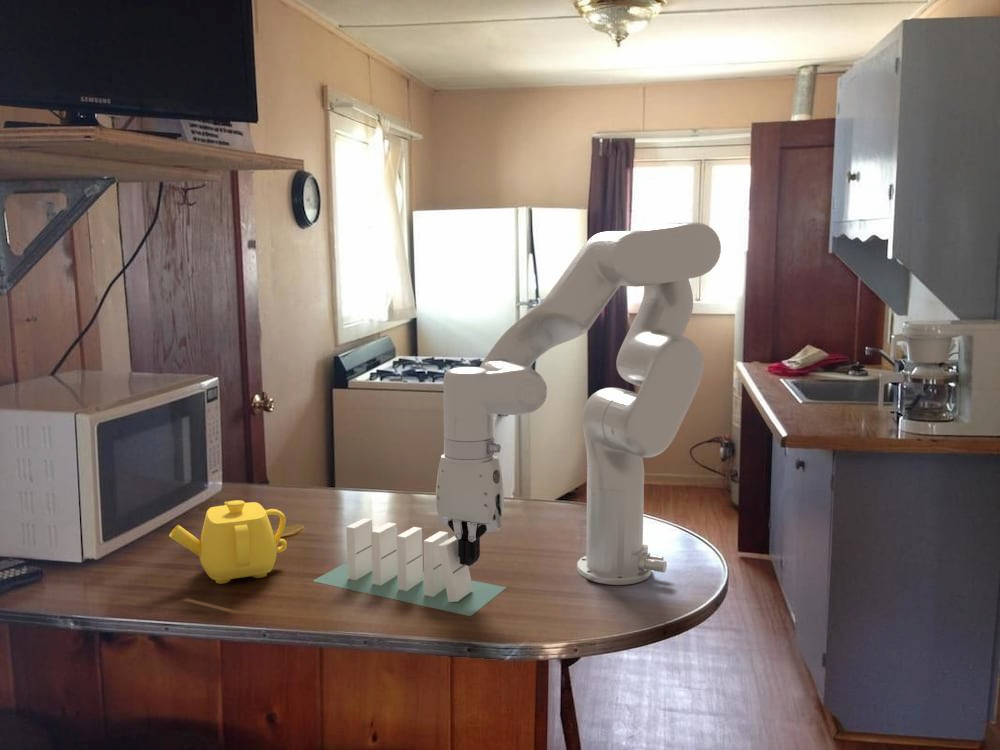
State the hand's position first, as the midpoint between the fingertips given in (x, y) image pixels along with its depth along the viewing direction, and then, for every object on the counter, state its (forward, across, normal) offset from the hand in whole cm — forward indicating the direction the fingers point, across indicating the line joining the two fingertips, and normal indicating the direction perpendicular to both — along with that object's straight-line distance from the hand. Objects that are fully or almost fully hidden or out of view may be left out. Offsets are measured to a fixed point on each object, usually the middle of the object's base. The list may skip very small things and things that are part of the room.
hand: (469, 562), depth 134 cm
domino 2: (+6, +16, 0) cm, 17 cm away
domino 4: (+6, +6, 0) cm, 8 cm away
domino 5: (+6, +1, 0) cm, 6 cm away
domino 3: (+6, +11, 0) cm, 13 cm away
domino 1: (+6, +21, 0) cm, 22 cm away
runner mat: (+6, +12, 0) cm, 13 cm away
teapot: (+7, +42, +8) cm, 43 cm away
